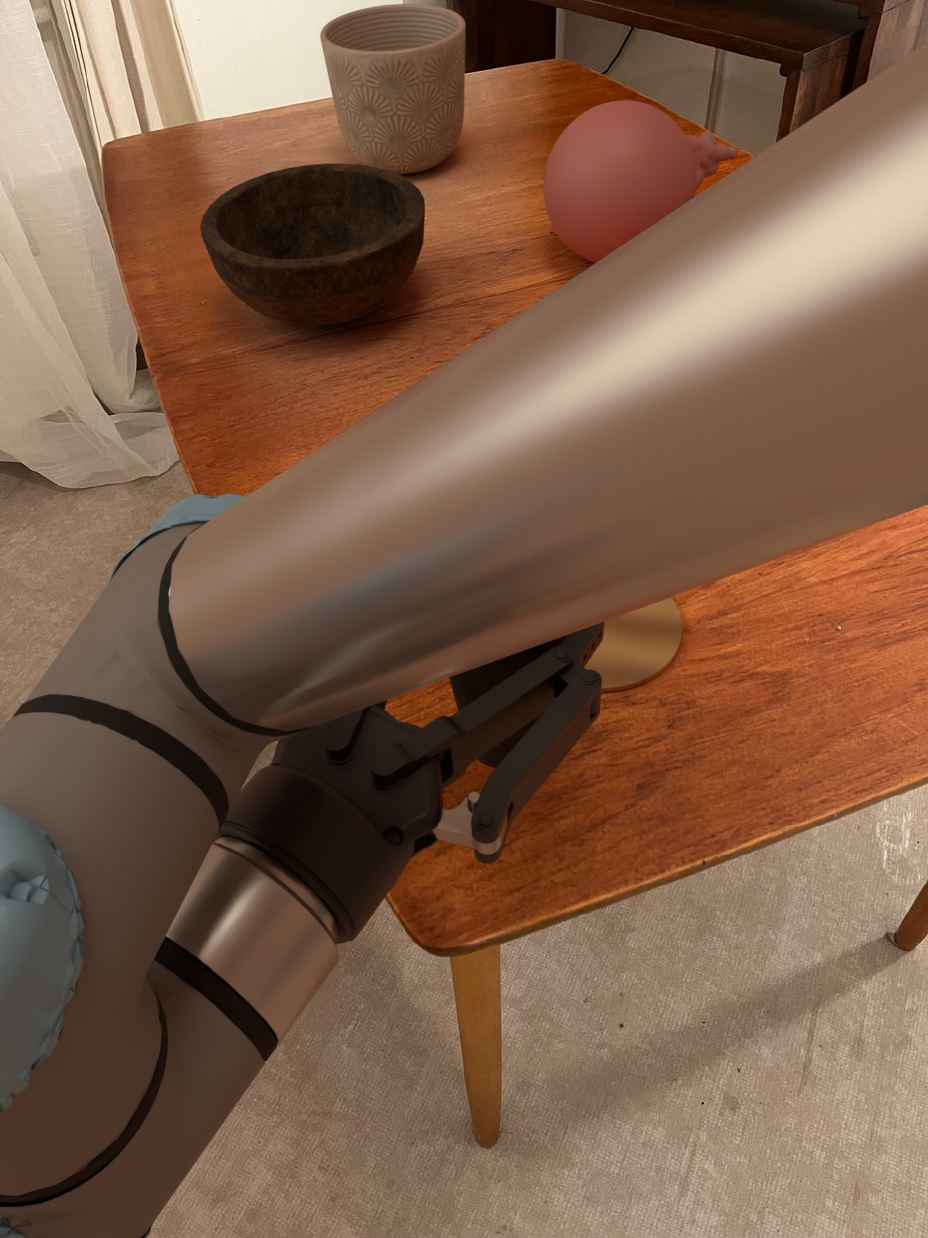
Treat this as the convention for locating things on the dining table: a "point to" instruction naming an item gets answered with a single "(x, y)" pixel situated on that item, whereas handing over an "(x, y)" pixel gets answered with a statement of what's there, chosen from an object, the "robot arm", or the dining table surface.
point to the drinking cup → (485, 679)
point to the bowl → (316, 241)
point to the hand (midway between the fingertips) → (548, 548)
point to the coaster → (637, 646)
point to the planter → (397, 83)
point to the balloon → (623, 174)
